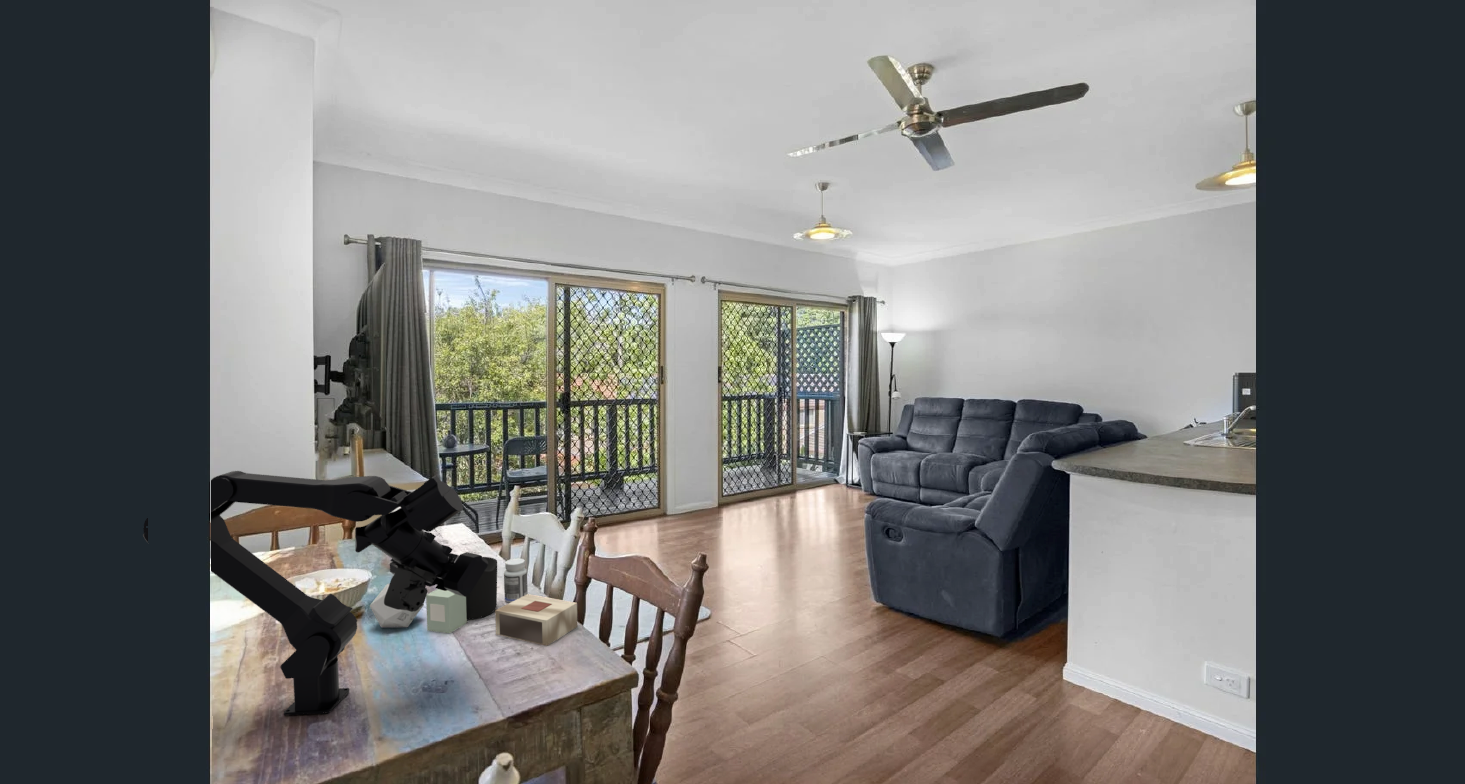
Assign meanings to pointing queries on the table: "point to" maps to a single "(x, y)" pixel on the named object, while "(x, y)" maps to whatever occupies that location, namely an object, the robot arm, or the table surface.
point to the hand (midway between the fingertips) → (470, 590)
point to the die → (391, 613)
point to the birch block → (536, 619)
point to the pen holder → (483, 593)
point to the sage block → (445, 611)
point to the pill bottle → (515, 580)
